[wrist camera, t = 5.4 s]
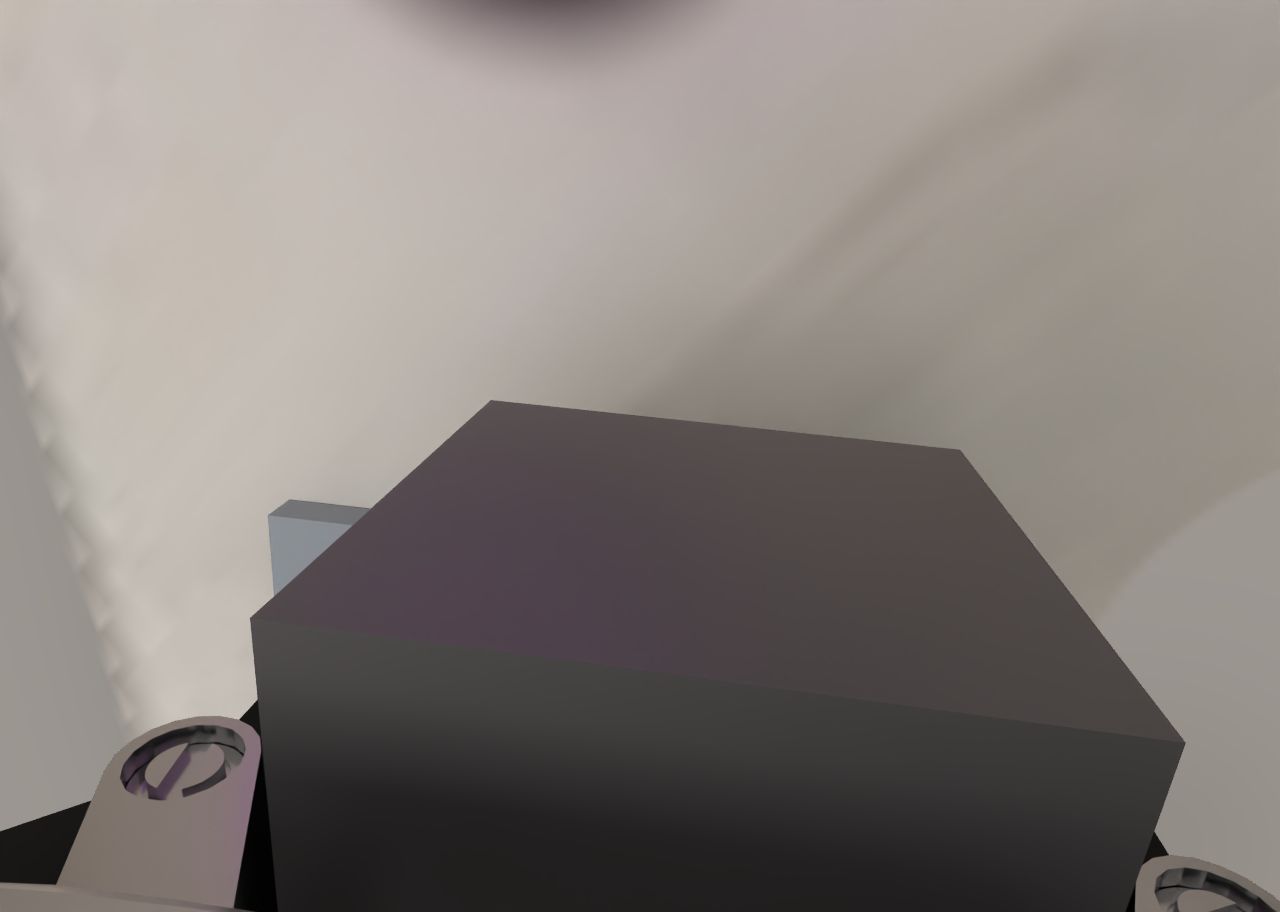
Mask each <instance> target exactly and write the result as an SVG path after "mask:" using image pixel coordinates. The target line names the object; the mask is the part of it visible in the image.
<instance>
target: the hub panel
mask: <svg viewBox="0 0 1280 912" xmlns="http://www.w3.org/2000/svg"><path fill="white" fill-rule="evenodd" d="M369 510H370V509H366V508H357V507H348V506H339V505H331V504H322V503H313V502H305V501H296V500H288V501H287V502H286V503H284V504H283V505H282V506H280V507H279V508H277V509H276V510H275V511H273V512H272V513H270V514H269V515H268V523H269V536H270V549H271V561H272V574H273V587H274V596H275V595H276V594H277V593H278V592H280V591H281V590H282V589H283V588H284V587H285V586H286V585H287V584H288V583H289V582H291V581H292V580H293V579H294V578H295V577H296V576H297V575H298V574H299V573H301V572H302V571H303V570H304V569H305V568H306V567H307V566H308V565H309V564H311V563H312V562H313V561H314V560H315V559H316V558H317V557H318V556H319V555H320V554H322V553H323V552H324V551H325V550H326V549H327V548H328V547H329V546H330V545H332V544H333V543H334V542H335V541H336V540H337V539H338V538H339V537H340V536H341V535H343V534H344V533H345V532H346V531H347V530H348V529H349V528H350V527H351V526H353V525H354V524H355V523H356V522H357V521H358V520H359V519H360V518H361V517H362V516H364V515H365V514H366V513H367V512H368V511H369Z"/></svg>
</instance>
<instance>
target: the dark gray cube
mask: <svg viewBox="0 0 1280 912" xmlns="http://www.w3.org/2000/svg"><path fill="white" fill-rule="evenodd" d="M250 621H251V632H252V643H253V653H254V664H255V674H256V685H257V696H258V706H259V717H260V727H261V738H262V748H263V759H264V770H265V780H266V791H267V801H268V812H269V822H270V833H271V844H272V854H273V865H274V875H275V886H276V896H277V907H278V912H1126V909H1127V906H1128V903H1129V900H1130V898H1131V895H1132V892H1133V889H1134V886H1135V883H1136V881H1137V878H1138V875H1139V872H1140V869H1141V867H1142V864H1143V861H1144V858H1145V855H1146V853H1147V850H1148V847H1149V844H1150V841H1151V839H1152V836H1153V833H1154V830H1155V827H1156V825H1157V822H1158V819H1159V816H1160V813H1161V811H1162V808H1163V805H1164V802H1165V799H1166V796H1167V794H1168V791H1169V788H1170V785H1171V783H1172V780H1173V777H1174V774H1175V771H1176V769H1177V766H1178V763H1179V760H1180V757H1181V754H1182V752H1183V749H1184V746H1185V742H1184V740H1183V739H1182V737H1181V736H1180V735H1179V734H1178V732H1177V731H1176V730H1175V728H1174V727H1173V726H1172V725H1171V723H1170V722H1169V721H1168V719H1167V718H1166V717H1165V715H1164V714H1163V713H1162V712H1161V710H1160V709H1159V708H1158V706H1157V705H1156V704H1155V702H1154V701H1153V700H1152V699H1151V697H1150V696H1149V695H1148V693H1147V692H1146V691H1145V689H1144V688H1143V687H1142V686H1141V684H1140V683H1139V682H1138V681H1137V679H1136V678H1135V676H1134V675H1133V674H1132V673H1131V671H1130V670H1129V669H1128V667H1127V666H1126V665H1125V663H1124V662H1123V661H1122V660H1121V658H1120V657H1119V656H1118V654H1117V653H1116V652H1115V650H1114V649H1113V648H1112V647H1111V645H1110V644H1109V643H1108V641H1107V640H1106V639H1105V637H1104V636H1103V635H1102V634H1101V632H1100V631H1099V630H1098V628H1097V627H1096V626H1095V624H1094V623H1093V622H1092V621H1091V619H1090V618H1089V617H1088V615H1087V614H1086V613H1085V612H1084V610H1083V609H1082V608H1081V606H1080V605H1079V604H1078V602H1077V601H1076V600H1075V599H1074V597H1073V596H1072V595H1071V593H1070V592H1069V591H1068V589H1067V588H1066V587H1065V586H1064V584H1063V583H1062V582H1061V580H1060V579H1059V578H1058V576H1057V575H1056V574H1055V573H1054V571H1053V570H1052V569H1051V567H1050V566H1049V565H1048V563H1047V562H1046V561H1045V560H1044V558H1043V557H1042V556H1041V554H1040V553H1039V552H1038V550H1037V549H1036V548H1035V547H1034V545H1033V544H1032V543H1031V541H1030V540H1029V539H1028V538H1027V536H1026V535H1025V534H1024V532H1023V531H1022V530H1021V528H1020V527H1019V526H1018V525H1017V523H1016V522H1015V521H1014V519H1013V518H1012V517H1011V515H1010V514H1009V513H1008V512H1007V510H1006V509H1005V508H1004V506H1003V505H1002V504H1001V502H1000V501H999V500H998V499H997V497H996V496H995V495H994V493H993V492H992V491H991V489H990V488H989V487H988V486H987V484H986V483H985V482H984V480H983V479H982V478H981V476H980V475H979V474H978V473H977V471H976V470H975V469H974V467H973V466H972V465H971V463H970V462H969V461H968V460H967V458H966V457H965V456H964V454H963V453H962V452H961V451H960V450H955V449H946V448H936V447H927V446H918V445H908V444H899V443H889V442H880V441H870V440H861V439H852V438H842V437H833V436H823V435H814V434H805V433H795V432H786V431H776V430H767V429H757V428H748V427H739V426H729V425H720V424H710V423H701V422H692V421H682V420H673V419H663V418H654V417H644V416H635V415H626V414H616V413H607V412H597V411H588V410H579V409H569V408H560V407H550V406H541V405H531V404H522V403H513V402H503V401H494V400H491V401H490V402H489V403H487V404H486V405H485V406H484V407H483V408H482V409H481V410H480V411H479V412H477V413H476V414H475V415H474V416H473V417H472V418H471V419H470V420H469V421H468V422H466V423H465V424H464V425H463V426H462V427H461V428H460V429H459V430H458V431H456V432H455V433H454V434H453V435H452V436H451V437H450V438H449V439H448V440H447V441H445V442H444V443H443V444H442V445H441V446H440V447H439V448H438V449H437V450H435V451H434V452H433V453H432V454H431V455H430V456H429V457H428V458H427V459H426V460H424V461H423V462H422V463H421V464H420V465H419V466H418V467H417V468H416V469H414V470H413V471H412V472H411V473H410V474H409V475H408V476H407V477H406V478H404V479H403V480H402V481H401V482H400V483H399V484H398V485H397V486H396V487H395V488H393V489H392V490H391V491H390V492H389V493H388V494H387V495H386V496H385V497H383V498H382V499H381V500H380V501H379V502H378V503H377V504H376V505H375V506H374V507H372V508H371V509H370V510H369V511H368V512H367V513H366V514H365V515H364V516H362V517H361V518H360V519H359V520H358V521H357V522H356V523H355V524H354V525H353V526H351V527H350V528H349V529H348V530H347V531H346V532H345V533H344V534H343V535H341V536H340V537H339V538H338V539H337V540H336V541H335V542H334V543H333V544H332V545H330V546H329V547H328V548H327V549H326V550H325V551H324V552H323V553H322V554H320V555H319V556H318V557H317V558H316V559H315V560H314V561H313V562H312V563H311V564H309V565H308V566H307V567H306V568H305V569H304V570H303V571H302V572H301V573H299V574H298V575H297V576H296V577H295V578H294V579H293V580H292V581H291V582H289V583H288V584H287V585H286V586H285V587H284V588H283V589H282V590H281V591H280V592H278V593H277V594H276V595H275V596H274V597H273V598H272V599H271V600H270V601H268V602H267V603H266V604H265V605H264V606H263V607H262V608H261V609H260V610H259V611H257V612H256V613H255V614H254V615H253V616H252V617H251V618H250Z"/></svg>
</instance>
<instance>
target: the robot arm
mask: <svg viewBox="0 0 1280 912" xmlns="http://www.w3.org/2000/svg"><path fill="white" fill-rule="evenodd" d="M0 912H278V907H277V896H276V886H275V875H274V865H273V854H272V844H271V833H270V822H269V812H268V801H267V791H266V780H265V770H264V759H263V748H262V738H261V727H260V717H259V706H258V700H257V701H256V702H255V703H254V704H253V705H252V706H251V707H250V709H249V710H248V711H247V712H246V713H245V714H244V715H243V716H242V717H241V718H240V719H239V720H238V719H233V718H227V717H222V716H201V717H193V718H188V719H183V720H178V721H173V722H171V723H168V724H165V725H162V726H160V727H157V728H154V729H151V730H150V731H148V732H146V733H144V734H143V735H141V736H139V737H137V738H135V739H134V740H132V741H130V742H129V743H128V744H127V745H126V746H124V747H123V748H122V749H121V750H120V751H119V752H118V753H116V754H115V755H114V757H113V758H112V760H111V761H110V763H109V764H108V766H107V767H106V769H105V770H104V772H103V775H102V777H101V780H100V782H99V784H98V786H97V789H96V791H95V794H94V796H93V798H92V801H89V802H86V803H83V804H80V805H77V806H74V807H71V808H68V809H65V810H62V811H59V812H56V813H53V814H50V815H47V816H44V817H42V818H39V819H36V820H33V821H30V822H27V823H24V824H21V825H18V826H15V827H12V828H9V829H6V830H3V831H0ZM1126 912H1280V901H1279V900H1277V899H1276V898H1275V897H1274V896H1273V895H1271V894H1270V893H1268V892H1267V891H1265V890H1264V889H1262V888H1261V887H1259V886H1258V885H1256V884H1255V883H1253V882H1252V881H1250V880H1248V879H1247V878H1245V877H1243V876H1241V875H1239V874H1236V873H1234V872H1232V871H1230V870H1228V869H1226V868H1224V867H1222V866H1219V865H1216V864H1213V863H1210V862H1206V861H1203V860H1200V859H1196V858H1193V857H1183V856H1174V855H1169V854H1168V853H1167V851H1166V850H1165V848H1164V846H1163V845H1162V843H1161V842H1160V840H1159V838H1158V837H1157V835H1156V834H1155V832H1154V833H1153V836H1152V839H1151V841H1150V844H1149V847H1148V850H1147V853H1146V855H1145V858H1144V861H1143V864H1142V867H1141V869H1140V872H1139V875H1138V878H1137V881H1136V883H1135V886H1134V889H1133V892H1132V895H1131V898H1130V900H1129V903H1128V906H1127V909H1126Z"/></svg>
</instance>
